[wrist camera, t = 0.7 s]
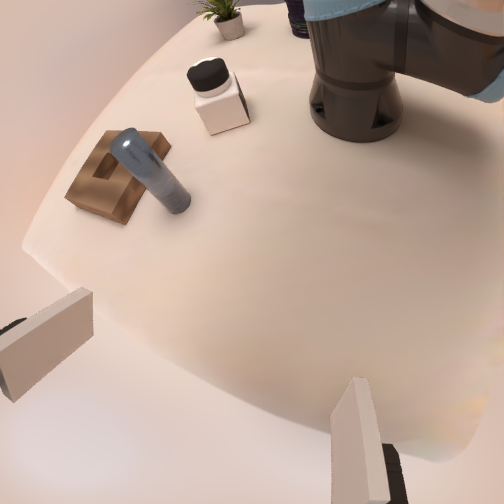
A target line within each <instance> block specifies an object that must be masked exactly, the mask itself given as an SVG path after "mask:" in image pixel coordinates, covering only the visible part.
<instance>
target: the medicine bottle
mask: <svg viewBox="0 0 504 504" xmlns="http://www.w3.org/2000/svg"><path fill="white" fill-rule="evenodd" d="M187 77H188V79H189V81H190V83H191V85H192V87H193V88H194V96H195V108H196V110H197V112H198V114H199V115H200V117H201V119H202V121H203V122H204V124H205V126H206V128H207V129H208V131H209V133H210V134H211V135H214V134H217V133H220V132H223V131H226V130H229V129H232V128H235V127H238V126H241V125H245V124H248V123H250V118H249V114H248V110H247V106H246V102H245V98H244V96H243V93H242V91H241V88H240V86H239V83H238V81H237V78H236V76H235V73H234V72H233V71H231V72H228V69H227V67H226V65H225V62H224V60H223V59H221V58H218V57H210V58H206V59H203V60H201V61H199V62H197V63H195V64H194V65H193V66H192V67H191V68H190V69H189V70H188V73H187Z"/></svg>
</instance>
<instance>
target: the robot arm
mask: <svg viewBox="0 0 504 504" xmlns="http://www.w3.org/2000/svg"><path fill="white" fill-rule="evenodd" d="M303 3H304V10H305V14H304V17H305V20H306V22H307V27H308V32H309V37H310V42H311V47H312V52H313V58H314V63H315V69H316V74H315V78H314V81H313V85H312V89H311V93H310V98H309V104H310V110H311V115H312V117H313V119H314V121H315V123H316V124H317V125H318V126H319V127H320V128H321V129H322V130H324V131H325V132H327V133H329V134H330V135H332V136H335V137H337V138H340V139H343V140H348V141H354V142H370V141H376V140H380V139H383V138H385V137H387V136H389V135H391V134H392V133H393V132H395V131H396V129H397V128H398V127H399V125H400V122H401V118H402V111H403V106H402V100H401V97H400V93H399V90H398V86H397V83H396V80H395V72H396V73H400V74H404V75H407V76H411V77H414V78H417V79H421V80H424V81H427V82H430V83H433V84H436V85H438V86H441V87H444V88H447V89H449V90H452V91H455V92H457V93H460V94H461V95H463V96H466V97H468V98H474V99H477V100H480V101H483V102H485V103H494V102H497V101H499V100H501V99H502V98H503V97H504V0H303ZM92 336H93V292H92V291H90V290H87V289H85V288H83V287H81V288H79V289H77V290H75V291H74V292H72V293H70V294H69V295H67V296H65V297H63V298H62V299H60V300H58V301H57V302H55V303H53V304H51V305H50V306H48V307H46V308H45V309H43V310H41V311H40V312H38V313H36V314H34V315H33V316H31V317H30V318H28V319H27V318H22V319H18V320H16V321H14V322H12V323H11V324H9V325H8V326H6V327H4V328H3V329H2V330H0V387H1V389H2V392H3V394H4V395H5V396H6V397H8V399H10V400H11V401H12V402H13V403H14V402H16V401H17V400H18V399H19V398H20V397H21V396H22V395H24V394H25V393H26V392H27V391H28V390H29V389H30V388H32V387H33V386H34V385H35V384H36V383H37V382H39V381H40V380H41V379H42V378H43V377H44V376H46V375H47V374H48V373H49V372H50V371H51V370H53V369H54V368H55V367H56V366H57V365H59V364H60V363H61V362H62V361H63V360H64V359H66V358H67V357H68V356H69V355H71V354H72V353H73V352H74V351H75V350H76V349H78V348H79V347H80V346H81V345H82V344H84V343H85V342H86V341H87V340H89V339H90V338H91V337H92ZM330 421H331V453H332V454H331V456H332V499H331V500H332V502H331V504H408V500H407V494H406V489H405V484H404V478H403V474H402V468H401V466H400V459H399V454H398V452H397V451H396V449H395V448H394V446H393V445H392V444H383V443H381V438H380V433H379V428H378V423H377V418H376V413H375V409H374V404H373V400H372V395H371V391H370V387H369V382H368V379H366V378H361V377H356V376H353V377H352V379H351V380H350V382H349V384H348V386H347V388H346V389H345V391H344V393H343V395H342V397H341V398H340V400H339V402H338V403H337V405H336V407H335V408H334V410H333V412H332V413H331V415H330Z"/></svg>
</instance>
